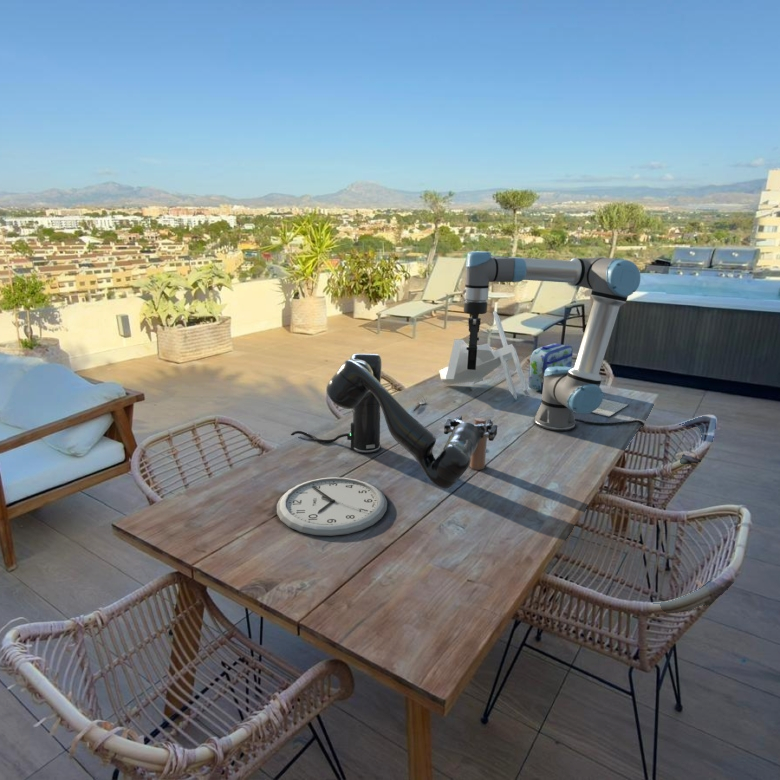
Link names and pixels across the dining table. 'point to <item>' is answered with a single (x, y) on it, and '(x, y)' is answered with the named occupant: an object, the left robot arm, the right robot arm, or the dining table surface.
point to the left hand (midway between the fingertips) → (475, 420)
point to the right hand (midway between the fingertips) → (471, 364)
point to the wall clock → (331, 506)
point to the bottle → (479, 450)
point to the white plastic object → (482, 362)
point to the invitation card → (609, 407)
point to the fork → (420, 403)
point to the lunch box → (547, 362)
